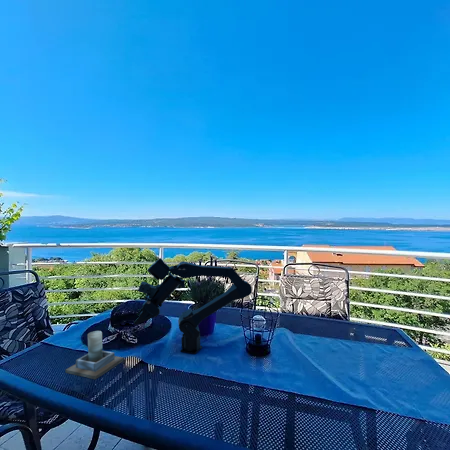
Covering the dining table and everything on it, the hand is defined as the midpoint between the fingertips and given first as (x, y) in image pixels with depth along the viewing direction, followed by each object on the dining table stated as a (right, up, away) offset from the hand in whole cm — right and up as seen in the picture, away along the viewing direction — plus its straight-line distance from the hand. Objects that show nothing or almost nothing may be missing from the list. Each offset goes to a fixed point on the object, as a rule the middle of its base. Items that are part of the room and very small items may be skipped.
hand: (136, 319), depth 103 cm
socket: (-12, -14, -8) cm, 20 cm away
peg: (-12, -13, -8) cm, 19 cm away
